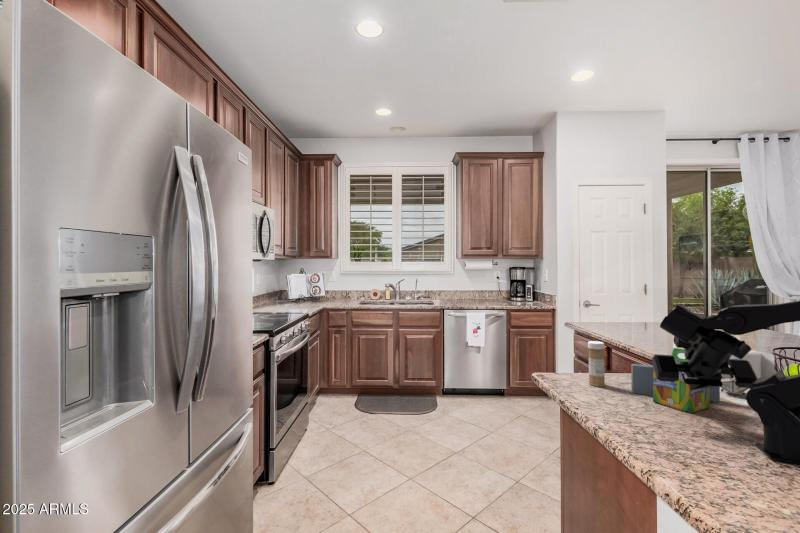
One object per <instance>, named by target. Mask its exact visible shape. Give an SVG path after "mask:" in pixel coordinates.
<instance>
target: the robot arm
mask: <svg viewBox="0 0 800 533" xmlns="http://www.w3.org/2000/svg"><path fill="white" fill-rule="evenodd" d="M795 322H800V300H796V301H790V302H789V301H788V302H782V303H771V304H769V303H768V304H767V303H766V304H759V303H758V304H737V305H735V304H734V305H731V306H728V307H725V308H722V309H720V311H719V312H717V315H715V316H714V315H708V316H706V317H703V316H701V315H699V314H698V313H695V312H694V311H691V310H690V309H688V308H687V307H686V306H684V305H682V304H678V305H676V306H675V308H674V309H673V310H671V311H670V312H669V313H668V314H667V315H666V316H664V318H663V319H662V320H661V323H660V325H659V328H661V329H662V330H663V331H665V332H667V333H668V334H671V335H672V336H673V344H674V346H675V348H679V349H685V351H686V353H685V354H684V359H685V358H686V359H688V360H689V362H683V361H675V359H674V356H672V354H671V355H670V354H656V353H655V354H654V355H653V356H652V359H651V362H652V365H653V367H654V370H655V374H656V377H657V379H658V380H660V381H667V382H675V381H678V379H679V372H681V374H682V377H683V380H684V383H685V384H688V385H689V389H690V390H697V389H703V388H711V387H720V388H721V387H722V386H723V384H722V381H721V379H722V378H729V379H733V378H734V377H735V379H736V382H735V384H736V386H738V387H743V388H749V389H748V390H747V392H746V394H745V400H746V403H747V405H748V406H749V408H751V409H752V410H753V412H755V413H757V414H758V417H759V419H760V421H761V424H762V425H763V426H762V427H763V443H759V442H755V446H756V448H758V449H759V450H760V452H762V453H763V454H765V455H766V456H767V458H769V459H770V460H772V461H778V462H782V463H783V462H784V463H790V464H796V465H800V373H797V374H794V375H786V376H785V374H784V372H782V370H781V369H779V370H777V371H774V372H775V373H774V374H772V375H771V376H768V377H765V378H757V376H756V374H755V372H754V370H753V368H752V366H751V364H750V363H749V362H748V361H747V360H742V359H743V358H744V357H745V356H746V355H747V354H748V353H749V352H750V351H751V350H752V347H750V345H749V344H748V343H746V341H745V340H740V339H738V338H737V337H735V336H741V335H744V334H745V335H746V334H749V333H753V332H756V331H759V330H764V329H767V328H770V327H774V326H778V325H781V324H788V323H795ZM732 355H734V356H735V357H737V358H739V359H730V357H731V356H732ZM728 365H730V368H729V366H728ZM733 375H734V376H733ZM750 388H751V389H750Z"/></svg>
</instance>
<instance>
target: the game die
mask: <svg viewBox="0 0 800 533" xmlns="http://www.w3.org/2000/svg"><path fill="white" fill-rule="evenodd" d="M733 376H734V375H733ZM721 381H722V384H723V386H722V387H720V392H724V391H725V392H727V393H729V394H731V396H732V398H734V397H735V395H736V394H742V395H743V396H744V395H745V396H746V393H745V392H746V391H748V390H750V389H751V388H743V387H738V386H736V384H735V382H736V379H735V377H734V378H733V379H729V378H722V379H721Z"/></svg>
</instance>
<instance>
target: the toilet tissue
mask: <svg viewBox="0 0 800 533" xmlns="http://www.w3.org/2000/svg"><path fill="white" fill-rule="evenodd" d="M730 359H739V358H737V357H735V356H734V355H732V356H731V357H730ZM742 360H747V361H748V362H749V363H750V364H751V366H752V368H753V370H754V372H755V374H756V376H757V378H765V377H768V376H771V375H772V374H774V373H775V372H776V371H775V354H772V353H767V352H763V351H759V350H752V349H751V351H750V352H749V353H748V354H747V355H746V356H745V357H744V358H743V359H742ZM728 366H729V368H730V365H728Z"/></svg>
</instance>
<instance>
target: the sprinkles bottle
mask: <svg viewBox="0 0 800 533" xmlns="http://www.w3.org/2000/svg"><path fill="white" fill-rule="evenodd" d="M587 348H588V376H589V377H588V384H589V385H590V386H593V387H601V388H602V387H605V386H606V384H605V375H606V374H605V373H606V371H605V342H603V341H599V340H590V341H589V340H588V342H587Z"/></svg>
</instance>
